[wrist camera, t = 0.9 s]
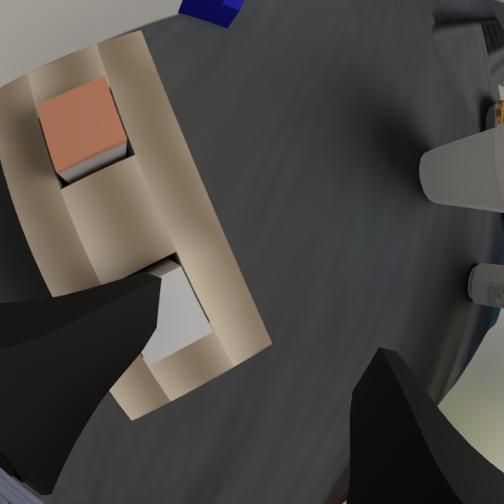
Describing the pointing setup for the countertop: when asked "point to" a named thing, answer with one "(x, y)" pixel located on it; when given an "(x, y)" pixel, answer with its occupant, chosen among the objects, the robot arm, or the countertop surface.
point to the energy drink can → (487, 285)
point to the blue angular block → (212, 10)
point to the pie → (495, 115)
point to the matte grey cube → (174, 313)
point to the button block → (128, 214)
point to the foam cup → (467, 171)
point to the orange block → (83, 130)
